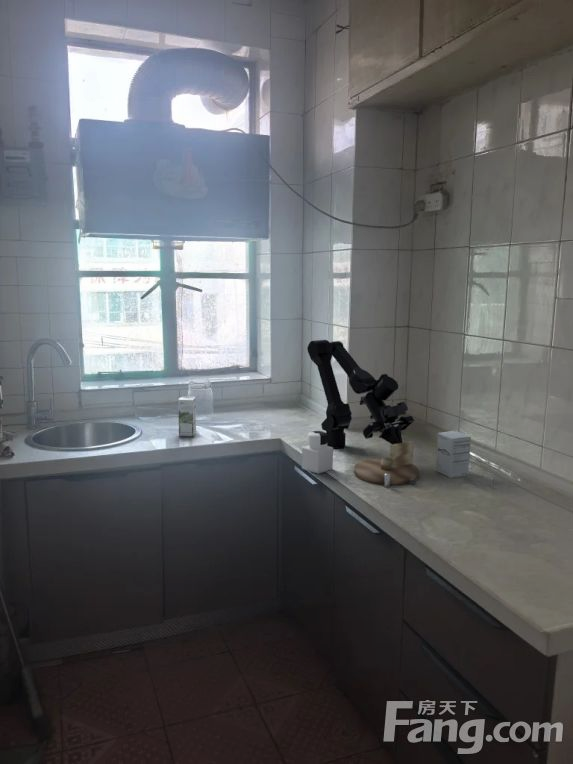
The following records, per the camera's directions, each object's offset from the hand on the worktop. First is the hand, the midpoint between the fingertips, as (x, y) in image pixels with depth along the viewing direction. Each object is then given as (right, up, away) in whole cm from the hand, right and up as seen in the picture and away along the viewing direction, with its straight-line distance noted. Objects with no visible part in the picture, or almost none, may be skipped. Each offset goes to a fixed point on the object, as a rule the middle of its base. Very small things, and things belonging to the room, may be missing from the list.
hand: (401, 449), depth 192 cm
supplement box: (+15, -8, -1) cm, 17 cm away
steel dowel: (-7, -9, -14) cm, 18 cm away
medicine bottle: (-27, -7, +1) cm, 27 cm away
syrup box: (-74, +1, +38) cm, 83 cm away
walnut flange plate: (-5, -7, -3) cm, 10 cm away
